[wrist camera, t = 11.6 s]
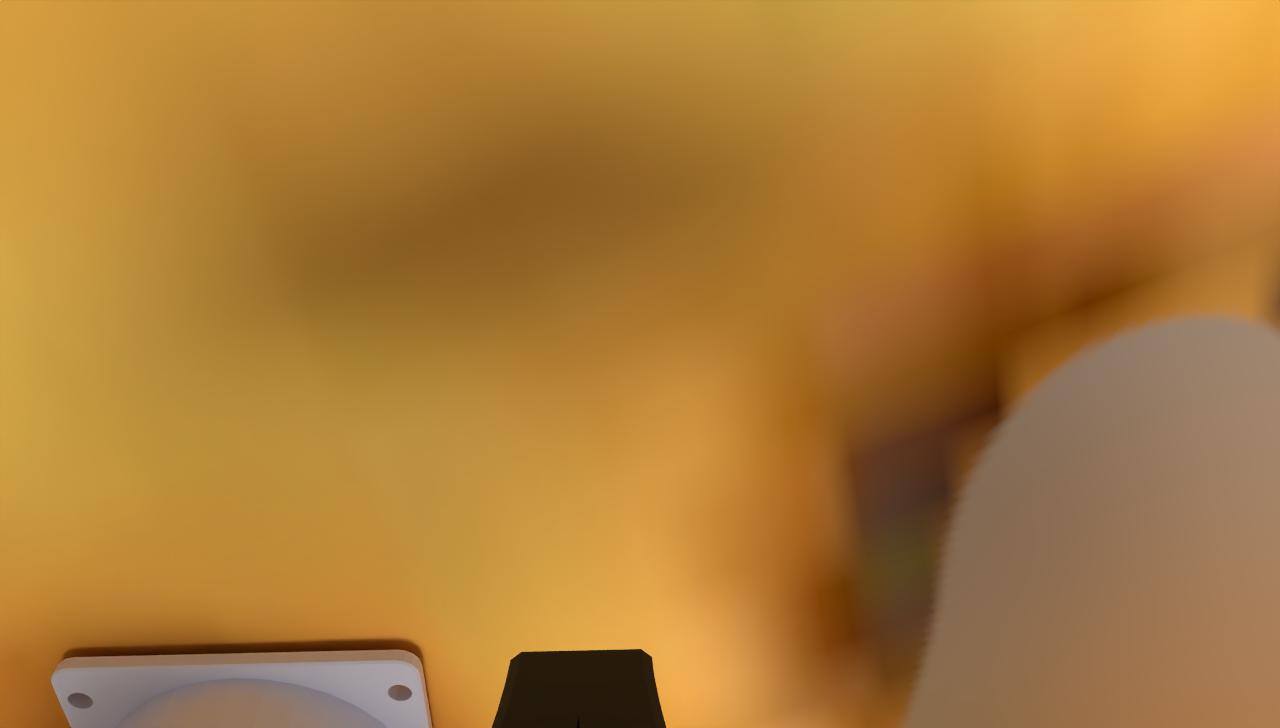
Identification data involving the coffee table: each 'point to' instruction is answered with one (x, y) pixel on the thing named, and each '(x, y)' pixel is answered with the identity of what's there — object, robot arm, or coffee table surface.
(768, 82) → the coffee table surface
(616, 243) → the coffee table surface
